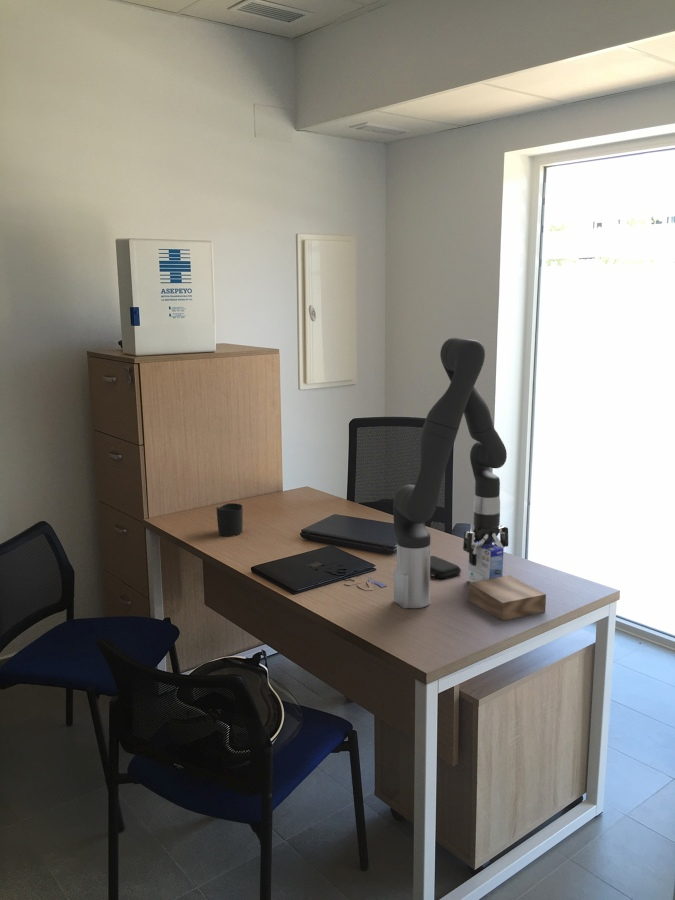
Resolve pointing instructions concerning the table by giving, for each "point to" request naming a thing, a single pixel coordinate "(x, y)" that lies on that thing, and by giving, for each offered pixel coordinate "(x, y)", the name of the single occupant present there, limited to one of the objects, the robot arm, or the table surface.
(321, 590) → the table surface
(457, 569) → the carrying case or bag
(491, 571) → the ink cartridge box
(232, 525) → the pen holder
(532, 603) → the wooden block
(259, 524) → the table surface
